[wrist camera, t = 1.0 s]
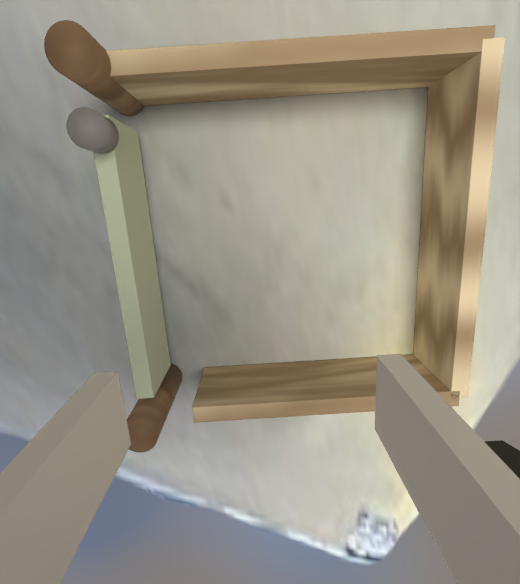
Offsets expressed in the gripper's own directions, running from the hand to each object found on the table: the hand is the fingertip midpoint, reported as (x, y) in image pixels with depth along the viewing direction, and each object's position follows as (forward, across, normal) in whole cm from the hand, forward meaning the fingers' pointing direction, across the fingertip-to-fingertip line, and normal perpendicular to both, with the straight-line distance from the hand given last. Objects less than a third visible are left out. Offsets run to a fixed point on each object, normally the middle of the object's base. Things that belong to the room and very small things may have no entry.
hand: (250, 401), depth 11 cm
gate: (+16, -8, +2) cm, 18 cm away
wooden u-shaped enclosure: (+17, +3, +3) cm, 18 cm away
